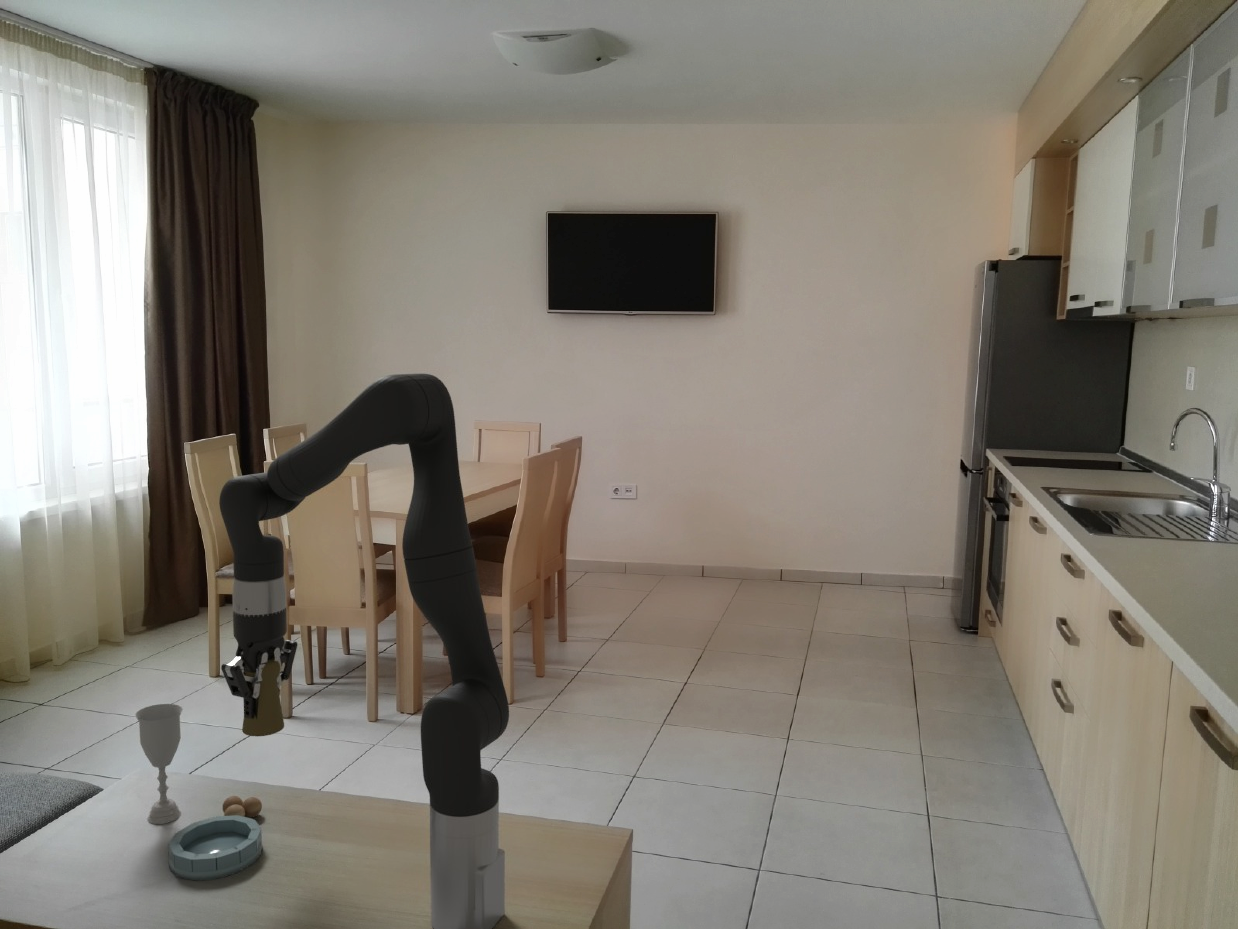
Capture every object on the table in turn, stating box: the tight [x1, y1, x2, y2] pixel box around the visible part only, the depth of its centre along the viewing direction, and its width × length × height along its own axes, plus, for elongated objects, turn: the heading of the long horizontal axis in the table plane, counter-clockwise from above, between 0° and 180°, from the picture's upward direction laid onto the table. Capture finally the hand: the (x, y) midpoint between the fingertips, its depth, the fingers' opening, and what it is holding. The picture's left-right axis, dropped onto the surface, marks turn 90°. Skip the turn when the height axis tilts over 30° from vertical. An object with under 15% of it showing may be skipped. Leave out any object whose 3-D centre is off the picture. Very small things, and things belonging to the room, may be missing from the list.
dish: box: [167, 815, 263, 881], centre depth 143 cm, size 13×13×3 cm
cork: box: [241, 659, 285, 737], centre depth 142 cm, size 6×6×11 cm
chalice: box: [135, 703, 184, 825], centre depth 153 cm, size 7×7×18 cm
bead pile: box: [222, 795, 263, 819], centre depth 153 cm, size 6×6×3 cm
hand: (262, 714), depth 142 cm, fingers closed on cork, 3 cm apart
